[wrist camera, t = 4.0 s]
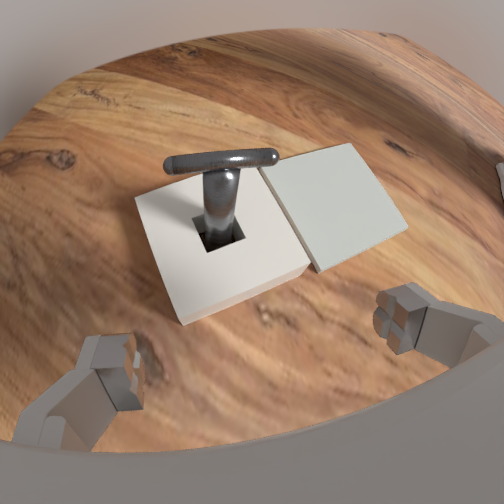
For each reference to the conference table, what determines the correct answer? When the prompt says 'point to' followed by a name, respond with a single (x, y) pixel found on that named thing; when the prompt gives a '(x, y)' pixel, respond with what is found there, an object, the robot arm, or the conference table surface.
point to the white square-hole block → (223, 259)
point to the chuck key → (220, 185)
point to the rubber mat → (333, 204)
